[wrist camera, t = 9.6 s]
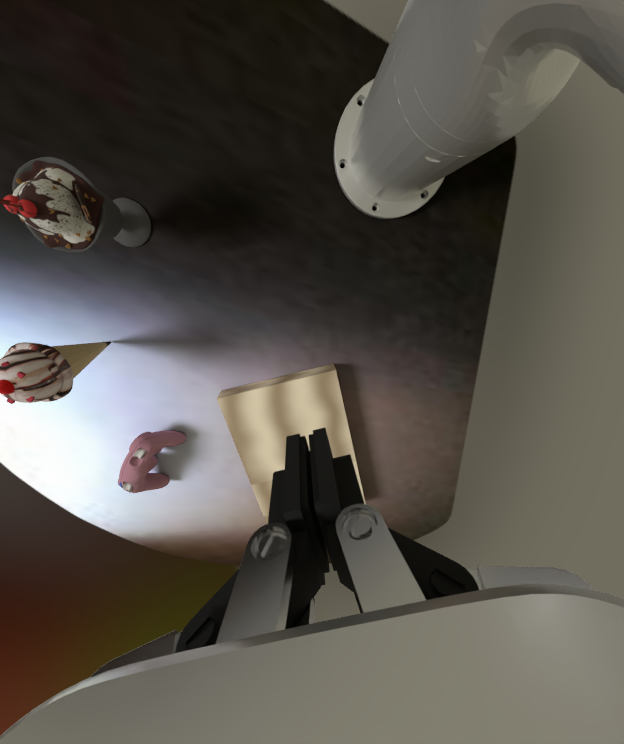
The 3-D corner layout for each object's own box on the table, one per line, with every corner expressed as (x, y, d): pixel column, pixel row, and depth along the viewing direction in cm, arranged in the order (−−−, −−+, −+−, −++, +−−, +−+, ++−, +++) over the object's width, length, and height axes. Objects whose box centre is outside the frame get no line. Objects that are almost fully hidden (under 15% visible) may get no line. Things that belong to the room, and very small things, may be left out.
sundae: (87, 232, 32) (-72, 208, 18) (110, 174, 31) (-47, 99, 17) (144, 267, 34) (37, 270, 20) (169, 215, 32) (71, 177, 18)
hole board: (333, 363, 39) (335, 369, 37) (362, 495, 48) (366, 507, 46) (221, 390, 40) (216, 398, 38) (270, 516, 48) (268, 528, 46)
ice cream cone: (99, 309, 35) (-29, 340, 21) (143, 337, 37) (49, 383, 23) (80, 345, 37) (-53, 396, 23) (122, 371, 38) (22, 433, 24)
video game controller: (168, 417, 43) (123, 433, 36) (190, 435, 42) (148, 454, 35) (150, 467, 46) (105, 490, 39) (171, 485, 45) (128, 511, 38)
